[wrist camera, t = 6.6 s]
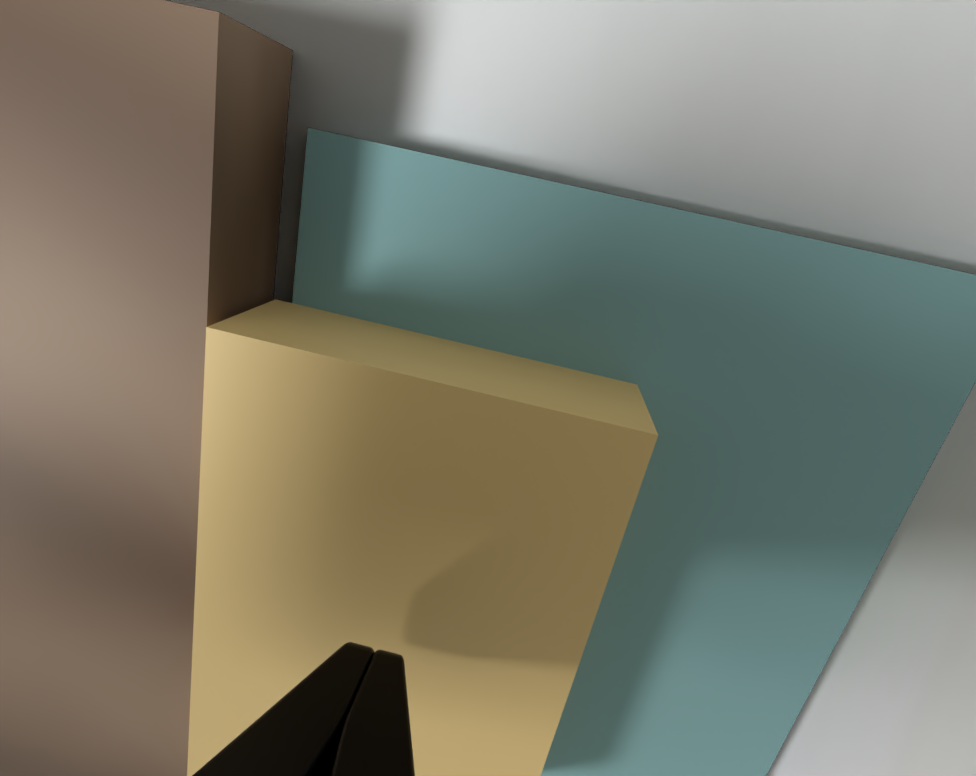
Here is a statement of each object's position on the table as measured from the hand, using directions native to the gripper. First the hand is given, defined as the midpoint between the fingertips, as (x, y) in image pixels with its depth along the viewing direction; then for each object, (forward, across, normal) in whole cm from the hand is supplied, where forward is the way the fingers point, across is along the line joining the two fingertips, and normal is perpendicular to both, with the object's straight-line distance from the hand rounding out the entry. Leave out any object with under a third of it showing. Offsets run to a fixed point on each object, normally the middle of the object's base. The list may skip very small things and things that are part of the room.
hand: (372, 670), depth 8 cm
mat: (+3, -2, 0) cm, 4 cm away
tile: (+3, 0, 0) cm, 3 cm away
